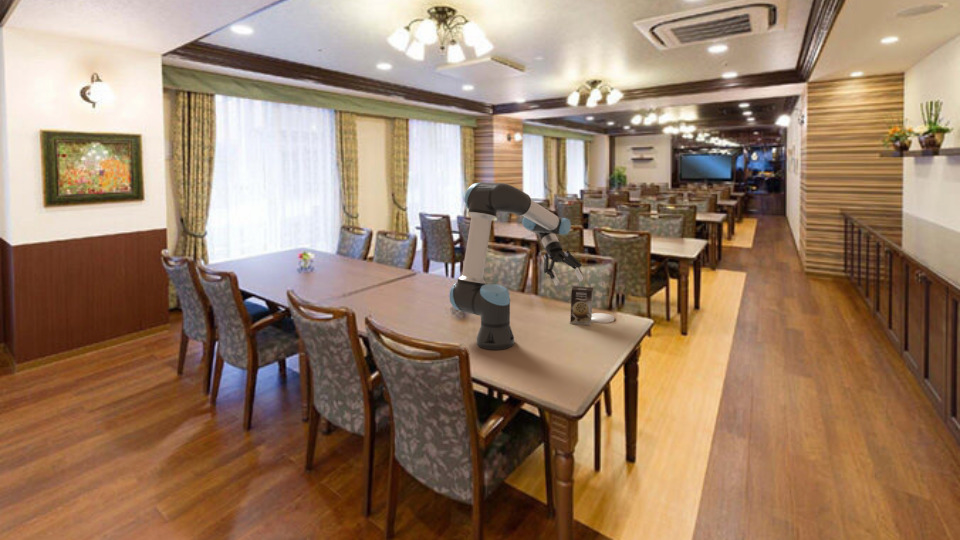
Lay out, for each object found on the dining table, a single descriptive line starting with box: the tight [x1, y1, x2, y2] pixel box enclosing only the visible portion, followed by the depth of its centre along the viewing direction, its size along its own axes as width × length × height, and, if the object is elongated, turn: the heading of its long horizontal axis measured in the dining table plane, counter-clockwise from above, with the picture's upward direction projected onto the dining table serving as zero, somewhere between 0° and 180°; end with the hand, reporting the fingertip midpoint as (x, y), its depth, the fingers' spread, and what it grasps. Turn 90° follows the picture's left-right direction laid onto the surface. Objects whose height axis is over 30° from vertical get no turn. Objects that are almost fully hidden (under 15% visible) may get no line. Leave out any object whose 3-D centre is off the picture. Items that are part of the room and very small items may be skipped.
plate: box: [591, 312, 615, 324], centre depth 225 cm, size 12×12×1 cm
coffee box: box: [569, 285, 594, 326], centre depth 219 cm, size 9×6×16 cm
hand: (569, 282), depth 226 cm, fingers open, 13 cm apart
